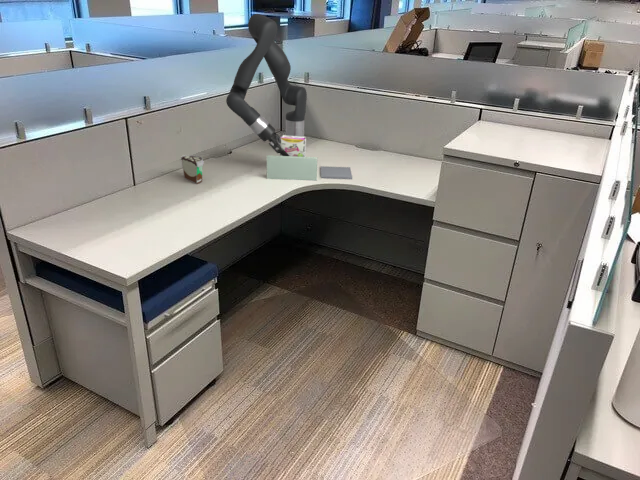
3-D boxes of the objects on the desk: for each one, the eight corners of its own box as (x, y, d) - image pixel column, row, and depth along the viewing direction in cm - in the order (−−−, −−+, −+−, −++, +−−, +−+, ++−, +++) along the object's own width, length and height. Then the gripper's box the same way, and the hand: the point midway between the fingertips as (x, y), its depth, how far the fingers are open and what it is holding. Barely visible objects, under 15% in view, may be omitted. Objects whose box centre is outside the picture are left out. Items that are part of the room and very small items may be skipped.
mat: (320, 167, 238) (320, 166, 238) (350, 168, 239) (350, 167, 238) (321, 178, 226) (321, 176, 225) (352, 179, 226) (352, 177, 226)
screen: (267, 177, 224) (267, 155, 219) (316, 178, 225) (317, 157, 220) (266, 178, 222) (266, 156, 218) (316, 180, 223) (317, 158, 218)
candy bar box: (279, 172, 230) (279, 137, 222) (281, 169, 234) (281, 134, 227) (303, 174, 229) (304, 139, 221) (305, 171, 233) (306, 136, 226)
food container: (211, 181, 216) (209, 159, 212) (198, 185, 212) (197, 162, 208) (194, 174, 224) (192, 152, 219) (182, 177, 219) (180, 155, 215)
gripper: (267, 126, 215) (293, 153, 220) (269, 118, 227) (294, 144, 233) (254, 138, 217) (281, 164, 222) (257, 129, 229) (282, 154, 235)
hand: (288, 154), depth 228 cm, fingers open, 8 cm apart
